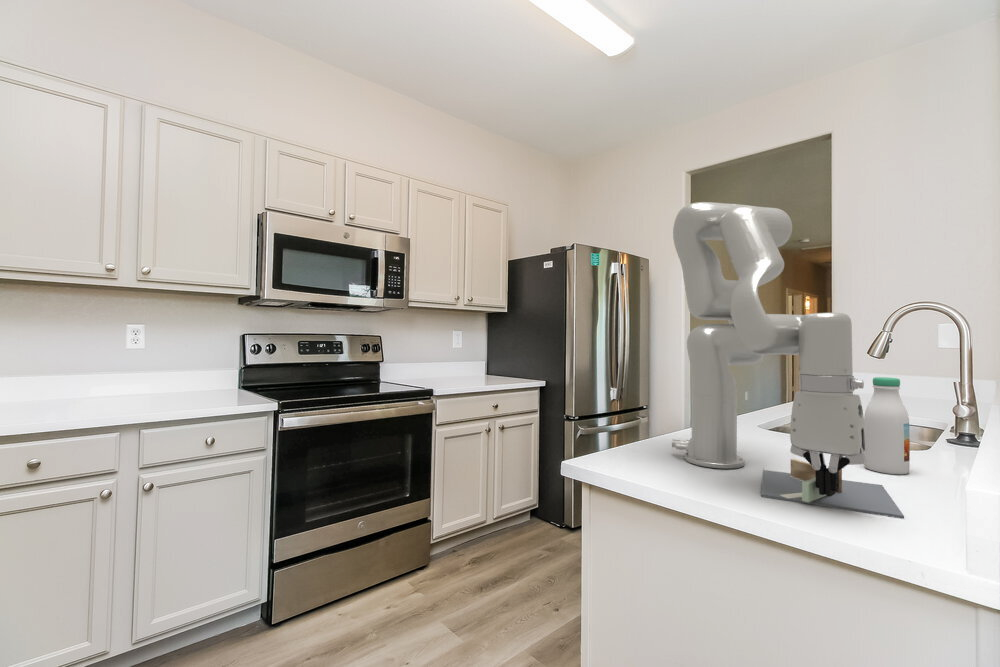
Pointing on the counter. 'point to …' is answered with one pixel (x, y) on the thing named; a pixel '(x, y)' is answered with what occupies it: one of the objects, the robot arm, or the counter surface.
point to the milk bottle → (887, 429)
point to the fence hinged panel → (810, 491)
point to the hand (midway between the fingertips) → (827, 493)
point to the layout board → (851, 498)
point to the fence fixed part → (808, 472)
